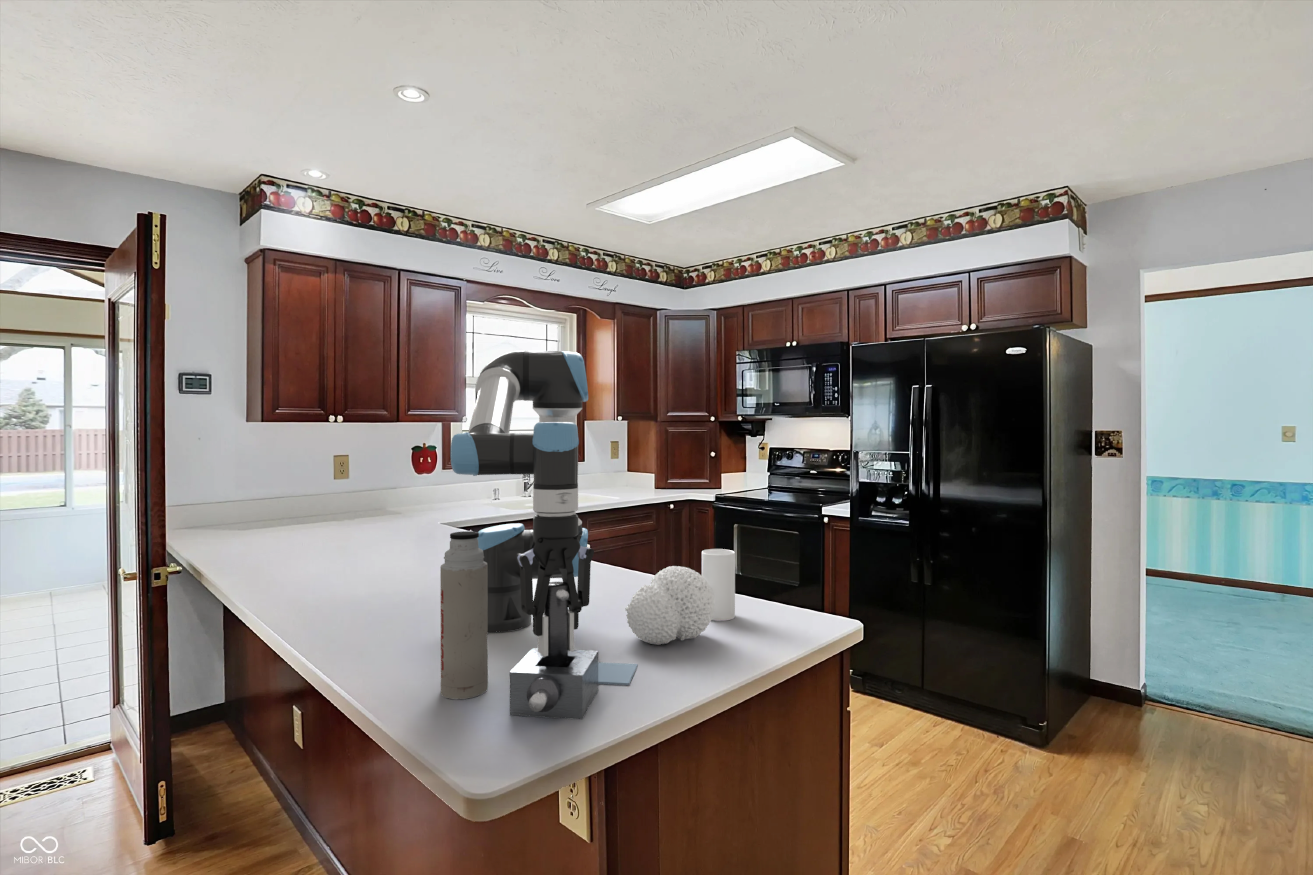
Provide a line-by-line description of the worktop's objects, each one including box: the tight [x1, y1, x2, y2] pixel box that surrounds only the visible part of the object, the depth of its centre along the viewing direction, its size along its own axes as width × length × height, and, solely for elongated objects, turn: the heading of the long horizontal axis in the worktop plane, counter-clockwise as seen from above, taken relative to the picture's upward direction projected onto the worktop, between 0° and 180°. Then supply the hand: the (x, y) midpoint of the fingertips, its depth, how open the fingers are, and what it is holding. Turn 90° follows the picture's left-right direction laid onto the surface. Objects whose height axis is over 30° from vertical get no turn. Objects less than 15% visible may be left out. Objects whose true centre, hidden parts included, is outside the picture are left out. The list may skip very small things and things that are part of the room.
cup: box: [701, 548, 736, 622], centre depth 165 cm, size 8×8×16 cm
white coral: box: [625, 565, 714, 646], centre depth 147 cm, size 20×18×16 cm
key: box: [544, 581, 569, 668], centre depth 113 cm, size 7×4×16 cm, turn 32°
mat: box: [598, 661, 638, 686], centre depth 126 cm, size 10×10×1 cm
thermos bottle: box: [440, 530, 489, 700], centre depth 118 cm, size 8×8×28 cm
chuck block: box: [509, 647, 599, 720], centre depth 110 cm, size 12×17×7 cm
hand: (555, 651), depth 113 cm, fingers closed on key, 4 cm apart
